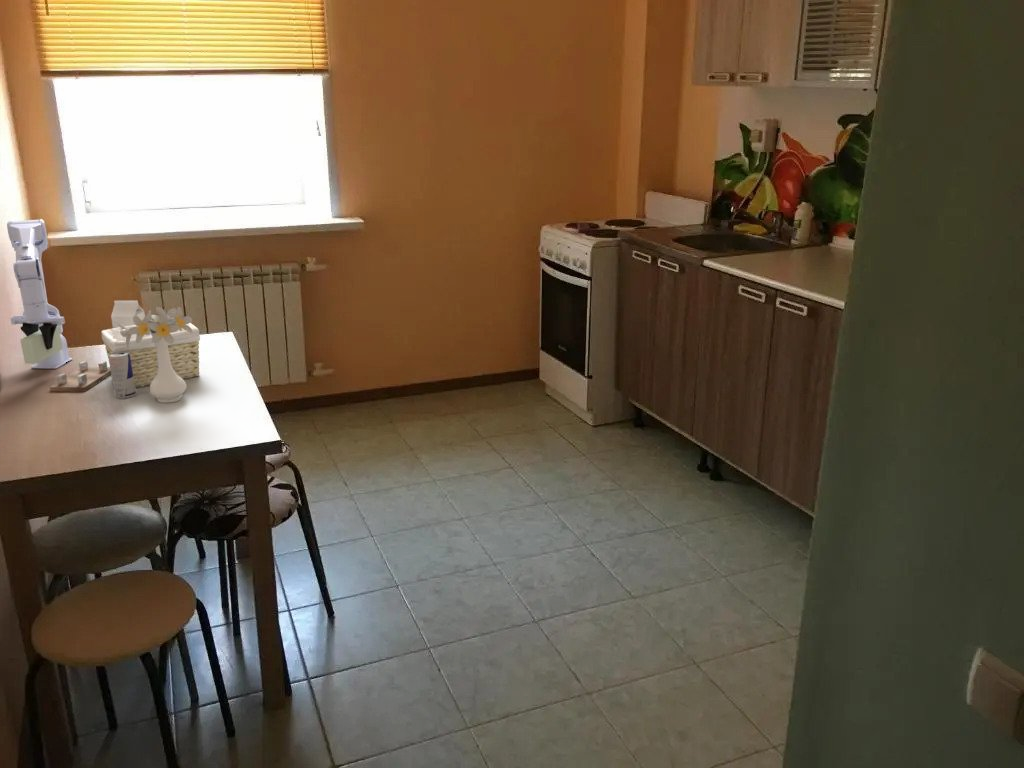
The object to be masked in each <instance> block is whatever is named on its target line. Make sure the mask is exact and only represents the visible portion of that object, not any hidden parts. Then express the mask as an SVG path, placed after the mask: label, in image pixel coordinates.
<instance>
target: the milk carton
mask: <svg viewBox="0 0 1024 768" xmlns="http://www.w3.org/2000/svg"><path fill="white" fill-rule="evenodd" d="M138 301H139V300H113V302H114V303H113V304H114V305H113V309H112V312H111V315H110V318H111V323H112V329H113V328H118V327H120V326H119V325H118V323H117V321H118V322H119V323H120V324H122V325H123V326H133V325H135V323H134V321H133V317H134V316H135V315H136V316H138V317H139V318H140V319H141V321H142V320H143V319H144V317H145V316H146V314H145V313H146V312H145V310H144V308H142V307H141V306H140V305H139V302H138Z"/></svg>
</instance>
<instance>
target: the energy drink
mask: <svg viewBox="0 0 1024 768" xmlns="http://www.w3.org/2000/svg"><path fill="white" fill-rule="evenodd" d="M108 364H109V367H110V370H111V375H110V376H111V382H112V387H113V393H114V397H115V398H116V399H120V400H126V399H130V398H133V397H135V396H136V395H137V391H136V389H137V388H136V387H135V383H134V377H133V371H132V365H131V358H130V355H129V352H126V351H120V352H114V353H111V354H109V359H108Z"/></svg>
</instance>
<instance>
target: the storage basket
mask: <svg viewBox="0 0 1024 768" xmlns="http://www.w3.org/2000/svg"><path fill="white" fill-rule="evenodd" d="M186 325H188V326H189V327H190V328H191V329H192V331H193V333H190V332H188V331H186V330H185V329H183V330H182V331H180V330H178V331H176V332H173V333H170V334H171V335H172V337H173V340H174V342H173V343H172V344H169V343H168V350H169V356H170V361H171V365H172V368H173V369H174V371H175V373H176V374H177V375H178V376H180V377H181V378H182V379H183V380H184V379H190V378H194V377H198V376H200V357H199V356H200V346H199V345H200V341H201V336H200V330H199V328H198V327H196V326H195V325H194V324H192V322H191V323H189V324H186ZM124 327H126V328H127V329H130V328H132V327H138V326H136V325H133V326H124ZM120 330H122V329H121V327H118V328H113V327H112V328H107V329H103V330H101V339H102V341H103V344H104V345H105V351H106V355H107V359H108V360H109V354H111V353H114V352H120V351H126V352H129V355H130V358H131V365H132V371H133V377H134V383H135V388H138V387H143V386H150V384H151V382H152V381H153V379H154V378H155V377H156V375H157V371H158V359H157V350H156V345H155V343H153V342H152V335H151V333H150V335H144V336H143V338H142V340H141V341H140V342H139V343H136V336H137V335H136V334H134V335H131V338H130V341H129V346H128V348H127V345H126V337H123V336H122V335H121V333H120Z"/></svg>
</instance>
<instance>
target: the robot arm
mask: <svg viewBox="0 0 1024 768" xmlns="http://www.w3.org/2000/svg"><path fill="white" fill-rule="evenodd" d="M6 228H7V233H8V234H7V235H8V238H9V241H10V243H11V248H13V250H14V252H15V262H13V265H12V266H13V267H12V268H13V273H14V277H15V279H16V282H17V287H18V289H19V291H20V297H21V301H22V305H23V310H24V311H23V312H22V315H17V316H16V315H14V316H12V317H10V322H11V325H17V324H18V325H21V326H20V330H21V332H23V333H24V334H25V337H27V336H29V335H31V334H33V333H35V332H37V331H39V330H40V331H41V333H42V336H43V338H44V343H45V347H46V349H51V348H52V346H53V336H54V332H55V329H56V327H57V326H59V331H60V337H61V342H62V347H63V349H62V350H60V351H58V352H56V353H55V354H53V355H51V356H49V357H47V358H45V359H43V360H42V361H40V362H38V363H36V364H34V365H33V364H32V365H31V366H30V369H54V370H55V369H58V368H60V367H62V366H64V365H65V364H67V363H68V361H69V362H70V361H72V360H73V358H72V357H70V353H69V348H68V342H67V339H66V338H65V336H63V330H64V329H63V325H64V324H66V320H65V316H61V314H60V311H59V309H58V308H57V307H56V306H54V305H51V304H49V303H48V297H47V296H48V295H47V290H46V284H45V275H44V270H43V263H42V258H43V257H42V255H43V252H44V251H46V250H47V249H48V245H49V243H48V242H49V241H48V233H47V227H46V223H45V220H43V219H42V218H40V219H29V220H14V221H11V220H8V221H7V223H6ZM66 362H67V363H66Z"/></svg>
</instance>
